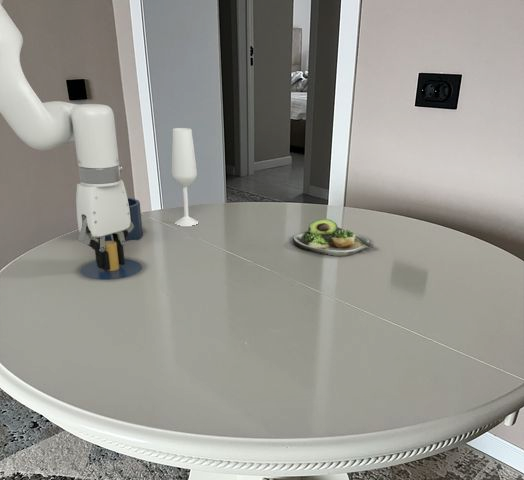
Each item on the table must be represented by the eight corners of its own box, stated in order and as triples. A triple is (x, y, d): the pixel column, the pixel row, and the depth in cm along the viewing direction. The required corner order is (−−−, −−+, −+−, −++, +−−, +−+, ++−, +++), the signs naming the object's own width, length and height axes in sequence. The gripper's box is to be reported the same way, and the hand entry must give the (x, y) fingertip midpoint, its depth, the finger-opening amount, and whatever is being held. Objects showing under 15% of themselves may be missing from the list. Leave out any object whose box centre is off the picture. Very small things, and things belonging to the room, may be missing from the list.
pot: (83, 246, 127) (78, 210, 123) (108, 226, 142) (104, 193, 138) (131, 248, 126) (127, 212, 122) (150, 228, 141) (148, 195, 137)
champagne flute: (172, 220, 148) (166, 127, 136) (195, 219, 150) (192, 127, 138) (177, 227, 142) (171, 131, 131) (201, 225, 144) (198, 130, 133)
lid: (71, 282, 107) (65, 251, 104) (94, 261, 118) (90, 232, 115) (132, 286, 106) (128, 254, 103) (149, 264, 117) (147, 235, 114)
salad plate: (389, 246, 132) (391, 227, 130) (351, 264, 120) (353, 244, 117) (324, 230, 142) (325, 213, 140) (283, 245, 130) (284, 227, 128)
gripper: (119, 166, 110) (128, 252, 119) (51, 179, 98) (66, 273, 107) (145, 171, 106) (152, 259, 115) (77, 184, 94) (91, 281, 103)
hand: (111, 265), depth 111 cm, fingers closed on lid, 3 cm apart
